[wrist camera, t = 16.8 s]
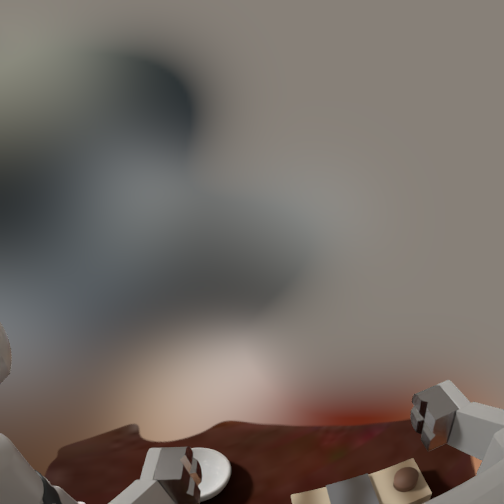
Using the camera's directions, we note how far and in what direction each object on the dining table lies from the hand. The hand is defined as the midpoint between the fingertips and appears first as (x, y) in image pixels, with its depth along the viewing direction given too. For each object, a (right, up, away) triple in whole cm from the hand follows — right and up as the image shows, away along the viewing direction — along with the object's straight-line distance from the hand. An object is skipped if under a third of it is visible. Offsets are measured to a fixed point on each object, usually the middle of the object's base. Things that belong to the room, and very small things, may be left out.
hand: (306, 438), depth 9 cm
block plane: (+12, -28, +20) cm, 36 cm away
